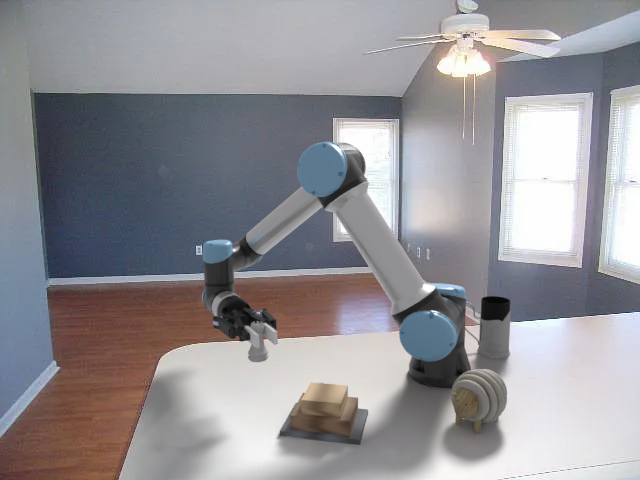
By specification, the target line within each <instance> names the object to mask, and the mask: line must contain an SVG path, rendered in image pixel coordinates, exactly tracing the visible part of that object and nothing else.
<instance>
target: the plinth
mask: <svg viewBox="0 0 640 480" xmlns="http://www.w3.org/2000/svg"><path fill="white" fill-rule="evenodd" d="M368 416H369V409H367V408H360V407H359V397H354V396H349V386H348V385H347V384H346V385H345V384H335V383H333V384H332V383H323V382H310V383H309V385H308V386H307V389H306V390H305V392H302V394H301V395H300V397H299V400H298V401H297V402H295V403H294V404H293V407H292V409H291V411H290V412H289V414H288V415H287V417H286V420H285V421H284V422H283V424H282V427H281V428H280V430H279V437H288V438H289V437H290V438H298V439H305V440H306V439H307V440H316V441H317V440H318V441H326V442H334V443H343V444H352V445H361V442H362V438H363V435H364V430H365V427H366V424H367V423H366V422H367V418H368Z"/></svg>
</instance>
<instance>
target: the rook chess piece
mask: <svg viewBox="0 0 640 480" xmlns="http://www.w3.org/2000/svg"><path fill="white" fill-rule="evenodd" d="M250 328H252V329H253V330H254V331H255V332H256V333H257V334H259V346H260V348H255V347H254V346H253V345H252V344H251V343H250V347H249V350H248V352H247V355H248V356H247V359H248V360H249V361H250V362H253V363H262V362H265V361H266V360H267V359H268V358H269V354H268V353H269V350H268V349H267V346H266V345H265V341H264V336H263V335H264V333H263V329H264V328H265V326H264V325H263V323H262V322H260V323H259V321H257V323H255V322H252V323H251V326H250Z"/></svg>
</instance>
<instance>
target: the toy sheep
mask: <svg viewBox="0 0 640 480" xmlns="http://www.w3.org/2000/svg"><path fill="white" fill-rule="evenodd" d="M450 400H451V403H452V404H451V405H452V406H453V410H454V413H455V420H454V422H455V424H454V425H456V426H457V427H461V426H462V425H463V419H464V420H465V419H466V420H467V421H469V422H471V423H473V431H474V433H475V434H480V433H481V428H482V425H481V424H483V423H491V422H494V421H497V420H499V418H500V417H501V415H502V413H503V412H504V411H505V409H506V408H507V407H506V406H507V403H508V389H507V386H506V383H505V381H504V379H503V378H502V377H501V376H500V375H499V374H498V373H497V372H495V371H493V370H491V369H488V368H482V369H481V368H475V369H471V370H470V371H467V372H465V373H463V374H462V375H461V376H460V377H459V378H457V379H456V381H455V382H454V384H453V386H452V387H451V391H450Z"/></svg>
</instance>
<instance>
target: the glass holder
mask: <svg viewBox="0 0 640 480" xmlns="http://www.w3.org/2000/svg"><path fill="white" fill-rule="evenodd" d="M480 301H481V302H480V303H481V304H480V316H477V315H476V309H475V306H474V305H473V304H472V302H469V301H466V305H470V306H471V308H472V311H473V312H472V313H473V317H474V318H475V319H479V333H478V334H479V336H478V337H479V338H477V337H476V336H475V335H474V334H473V333H472V332H470V330H468V328H466V327H465V332H467V333H468V334H469V335H470V336H471V337H472V338H474V339H475V341H476V342H477V345H478V347H477V349H476V351H477V353H478V354H479V355H480V356H484V357H487V358H490V359H505V358H508V357H510V355H511V352H510V329H511V313H512V312H511V300H510V299H509V298H507V297H503V296H498V295H497V296H495V295H493V296H492V295H487V296H483V297H481V300H480Z"/></svg>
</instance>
